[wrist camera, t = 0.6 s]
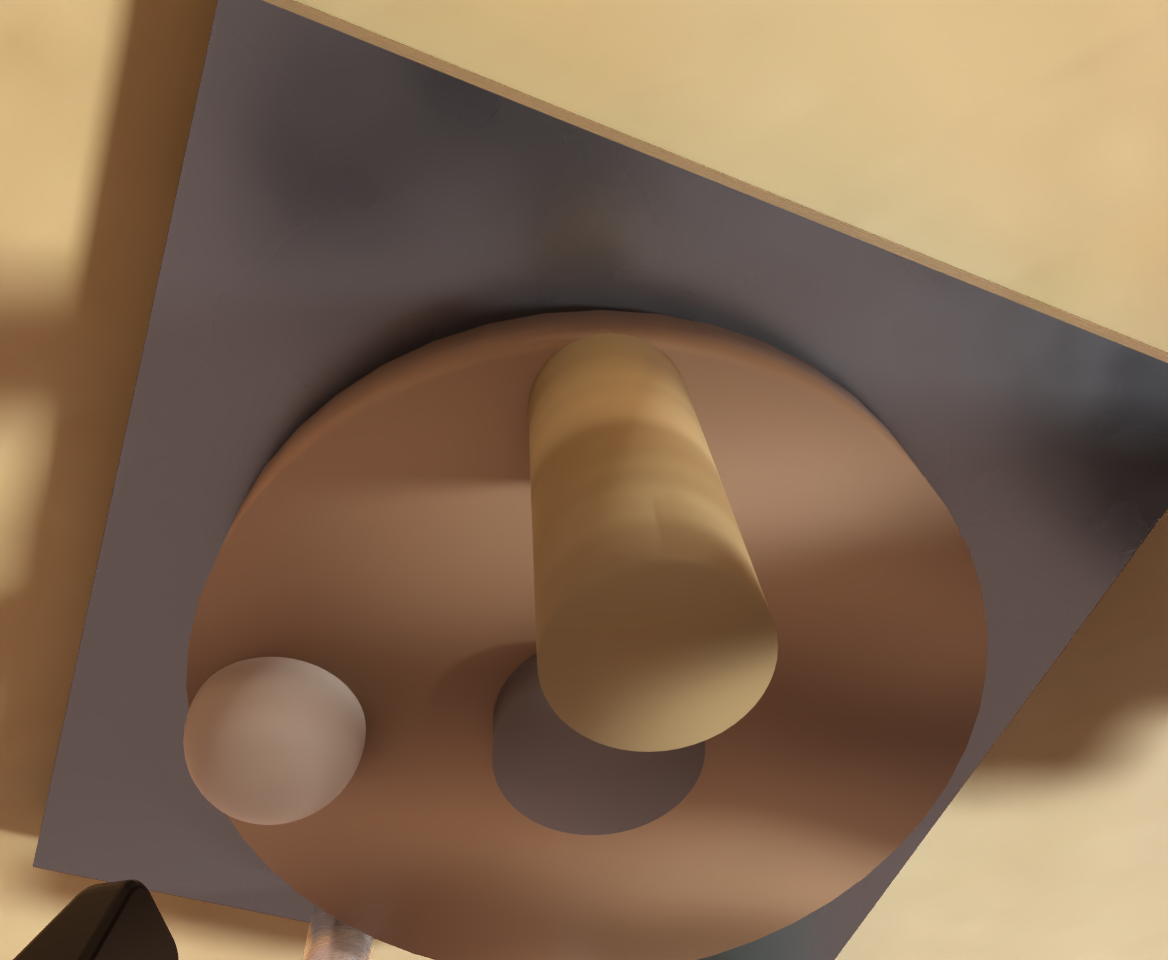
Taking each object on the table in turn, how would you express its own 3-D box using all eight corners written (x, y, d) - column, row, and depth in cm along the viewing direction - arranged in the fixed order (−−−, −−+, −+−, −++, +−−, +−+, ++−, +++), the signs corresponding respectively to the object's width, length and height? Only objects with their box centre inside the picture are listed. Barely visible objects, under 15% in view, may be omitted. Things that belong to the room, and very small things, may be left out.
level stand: (1210, 369, 19) (1414, 502, 15) (779, 977, 27) (831, 1182, 23) (240, -21, 15) (133, 3, 11) (54, 823, 23) (-54, 1037, 19)
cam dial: (888, 902, 24) (1036, 1290, 17) (258, 923, 23) (153, 1343, 16) (1032, 300, 17) (1373, 551, 10) (147, 294, 16) (-113, 566, 9)
